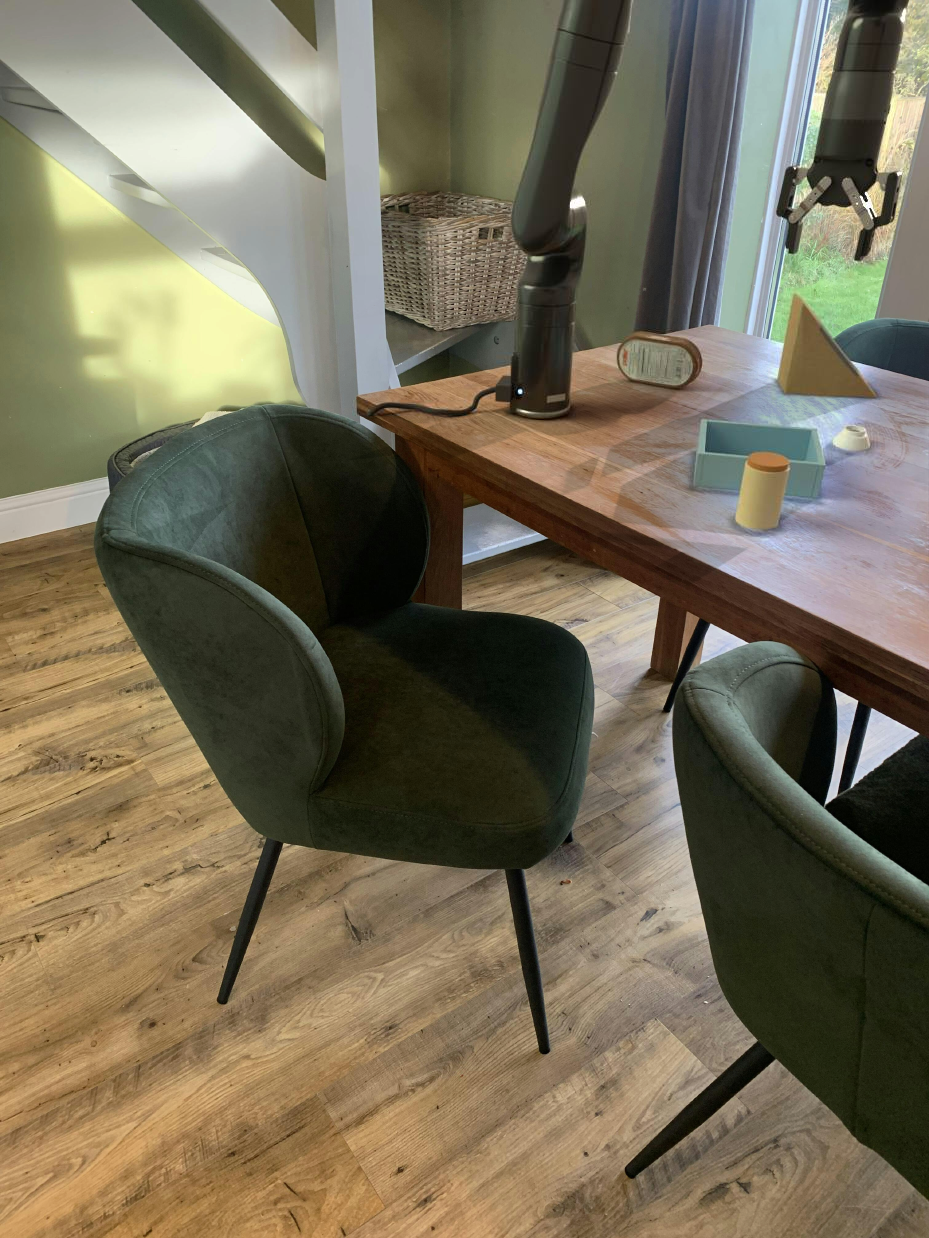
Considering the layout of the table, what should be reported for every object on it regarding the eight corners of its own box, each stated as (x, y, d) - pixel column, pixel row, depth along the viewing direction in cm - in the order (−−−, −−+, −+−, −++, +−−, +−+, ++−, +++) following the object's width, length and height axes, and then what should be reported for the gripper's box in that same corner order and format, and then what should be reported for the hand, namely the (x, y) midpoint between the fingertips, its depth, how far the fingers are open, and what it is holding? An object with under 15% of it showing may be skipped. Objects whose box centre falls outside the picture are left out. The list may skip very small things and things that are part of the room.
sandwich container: (878, 398, 148) (902, 306, 140) (784, 394, 149) (802, 303, 141) (866, 383, 155) (888, 294, 147) (776, 379, 157) (793, 291, 149)
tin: (699, 388, 152) (706, 339, 147) (692, 393, 150) (700, 343, 145) (619, 375, 159) (623, 327, 154) (612, 379, 156) (616, 331, 152)
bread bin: (692, 490, 115) (698, 453, 113) (696, 452, 126) (701, 418, 124) (816, 502, 112) (825, 465, 109) (809, 463, 123) (817, 428, 120)
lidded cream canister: (734, 531, 105) (746, 465, 100) (734, 514, 109) (746, 449, 105) (777, 536, 104) (792, 469, 99) (776, 518, 108) (790, 453, 103)
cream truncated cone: (825, 443, 130) (844, 455, 126) (829, 424, 128) (848, 436, 124) (855, 440, 131) (875, 453, 126) (860, 421, 129) (880, 433, 125)
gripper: (786, 115, 108) (762, 255, 116) (910, 118, 101) (874, 267, 109) (804, 112, 113) (780, 247, 121) (923, 115, 106) (888, 258, 115)
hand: (825, 256), depth 115 cm, fingers open, 8 cm apart
